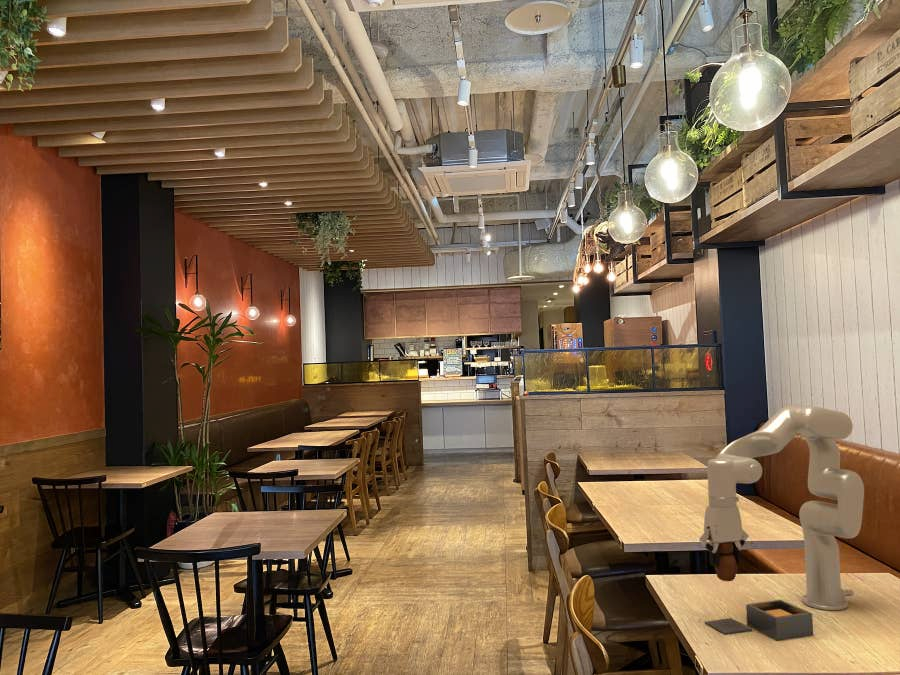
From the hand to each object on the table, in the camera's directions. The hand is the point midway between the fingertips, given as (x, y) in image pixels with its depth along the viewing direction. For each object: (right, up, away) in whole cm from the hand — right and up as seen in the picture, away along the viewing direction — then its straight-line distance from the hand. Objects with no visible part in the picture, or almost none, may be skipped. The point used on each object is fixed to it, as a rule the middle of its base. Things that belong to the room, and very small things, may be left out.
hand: (725, 564), depth 198 cm
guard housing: (+14, -17, -4) cm, 23 cm away
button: (+14, -15, -4) cm, 20 cm away
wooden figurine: (0, -5, 0) cm, 5 cm away
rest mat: (+1, -18, -1) cm, 18 cm away
